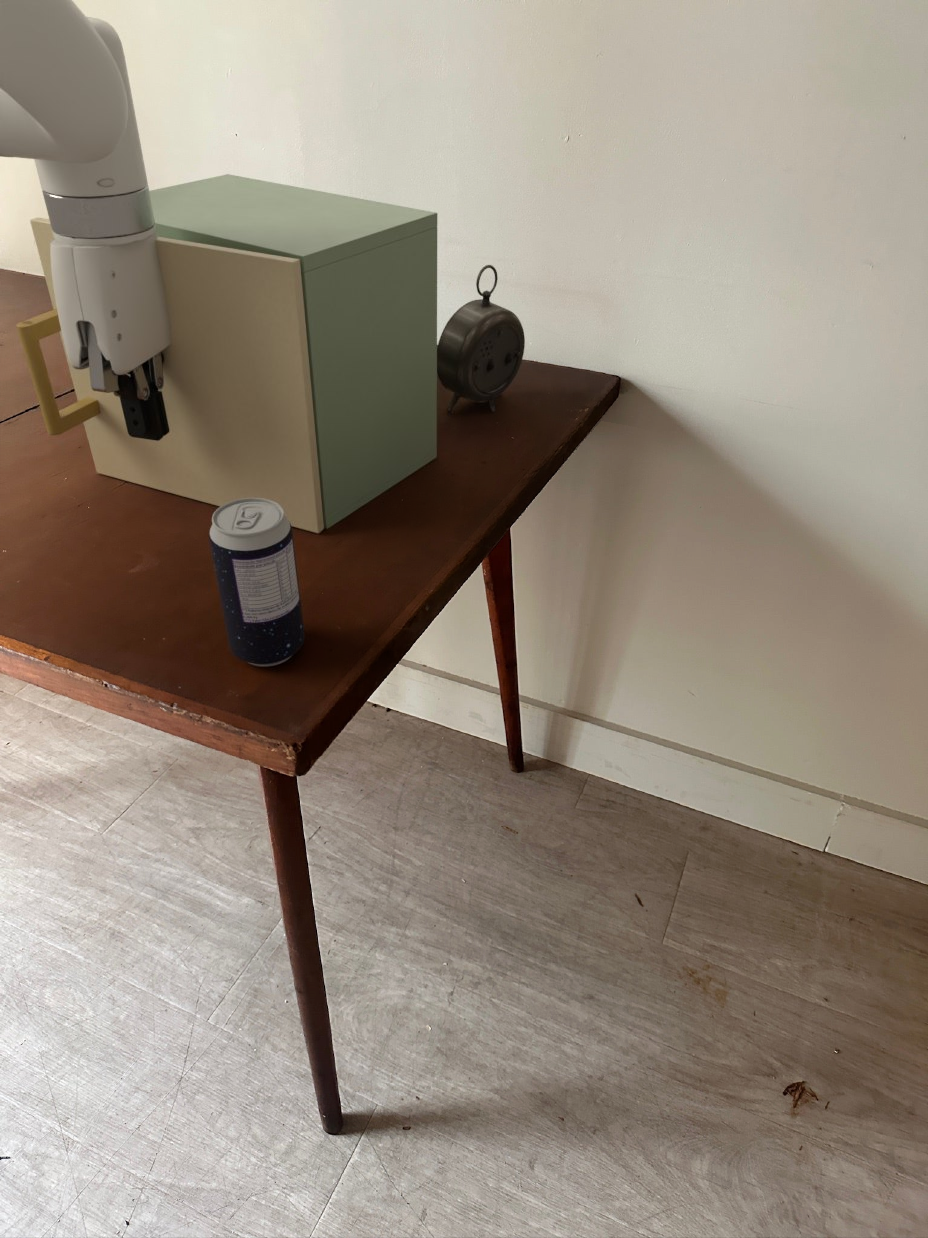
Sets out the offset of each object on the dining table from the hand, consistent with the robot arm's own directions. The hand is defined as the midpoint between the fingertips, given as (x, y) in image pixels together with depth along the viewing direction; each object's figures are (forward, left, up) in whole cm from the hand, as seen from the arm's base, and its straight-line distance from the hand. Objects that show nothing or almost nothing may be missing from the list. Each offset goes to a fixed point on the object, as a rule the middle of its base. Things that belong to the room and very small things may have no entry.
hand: (149, 434), depth 77 cm
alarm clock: (+39, -11, -9) cm, 41 cm away
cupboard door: (+1, -1, -8) cm, 8 cm away
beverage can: (-9, -22, -8) cm, 25 cm away
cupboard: (+16, -1, -8) cm, 18 cm away
